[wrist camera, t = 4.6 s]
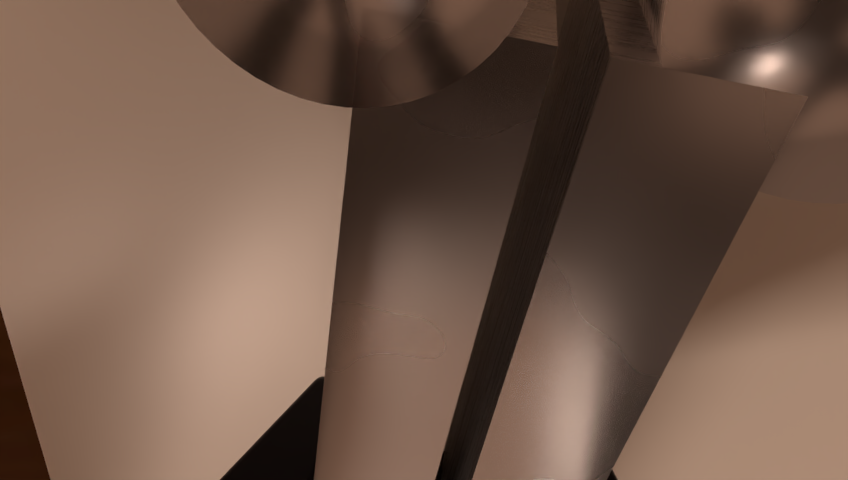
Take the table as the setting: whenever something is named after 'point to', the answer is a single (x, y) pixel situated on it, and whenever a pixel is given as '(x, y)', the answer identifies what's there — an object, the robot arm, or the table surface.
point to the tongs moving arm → (404, 193)
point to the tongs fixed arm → (639, 213)
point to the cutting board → (310, 269)
